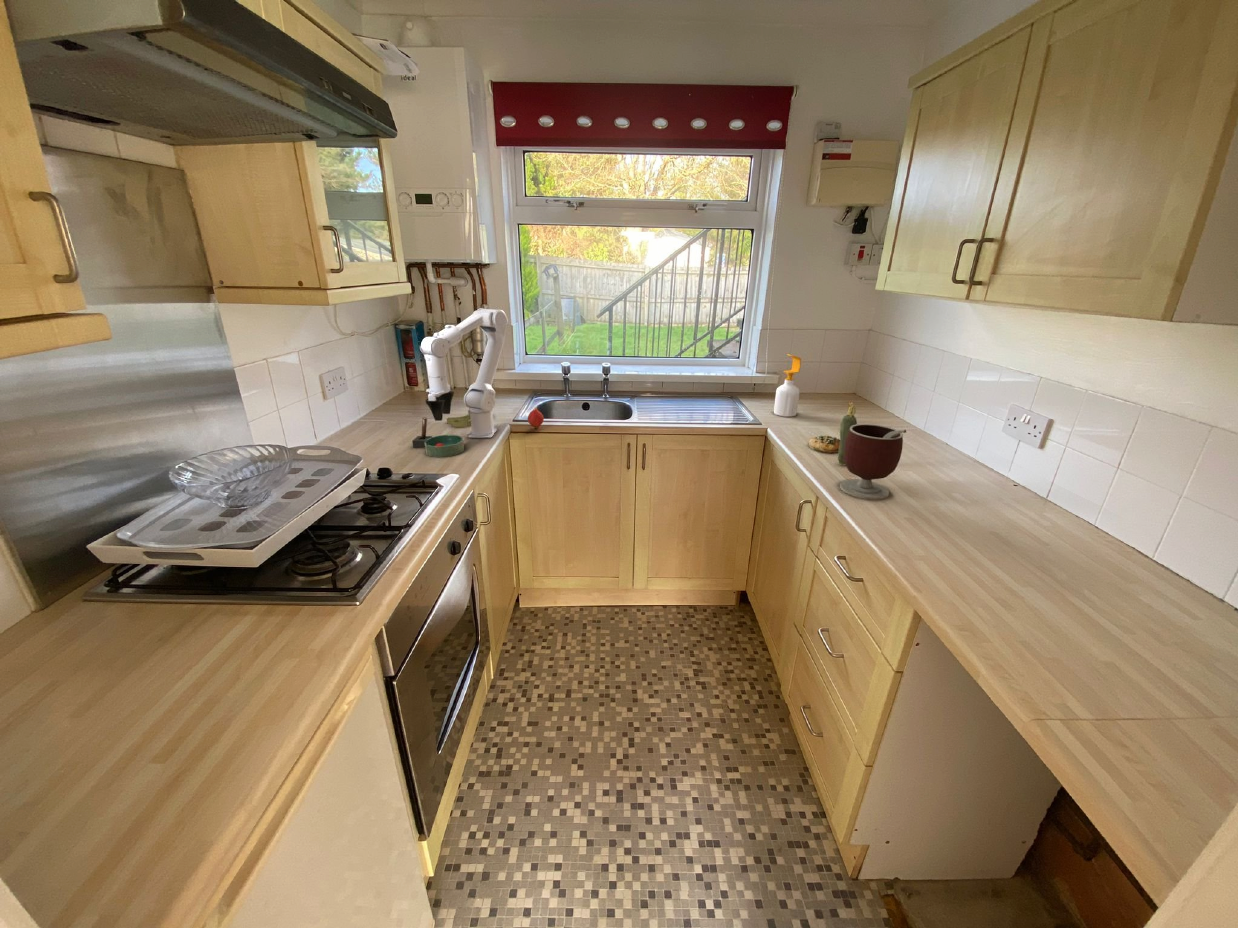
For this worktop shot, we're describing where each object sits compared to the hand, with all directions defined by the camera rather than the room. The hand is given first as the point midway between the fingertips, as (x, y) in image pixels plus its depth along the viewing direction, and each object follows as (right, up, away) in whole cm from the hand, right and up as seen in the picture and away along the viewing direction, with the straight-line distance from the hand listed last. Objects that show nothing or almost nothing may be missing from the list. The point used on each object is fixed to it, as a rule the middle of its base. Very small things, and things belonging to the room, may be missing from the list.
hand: (442, 417), depth 166 cm
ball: (0, -10, -4) cm, 11 cm away
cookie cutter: (0, +1, +32) cm, 32 cm away
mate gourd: (+126, -23, -27) cm, 131 cm away
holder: (-8, -9, +5) cm, 13 cm away
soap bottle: (+127, +5, +45) cm, 135 cm away
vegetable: (+127, -16, -9) cm, 128 cm away
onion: (+27, -2, +24) cm, 36 cm away
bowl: (+1, -11, 0) cm, 11 cm away
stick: (-8, -9, +5) cm, 13 cm away
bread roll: (+128, -10, +6) cm, 128 cm away
